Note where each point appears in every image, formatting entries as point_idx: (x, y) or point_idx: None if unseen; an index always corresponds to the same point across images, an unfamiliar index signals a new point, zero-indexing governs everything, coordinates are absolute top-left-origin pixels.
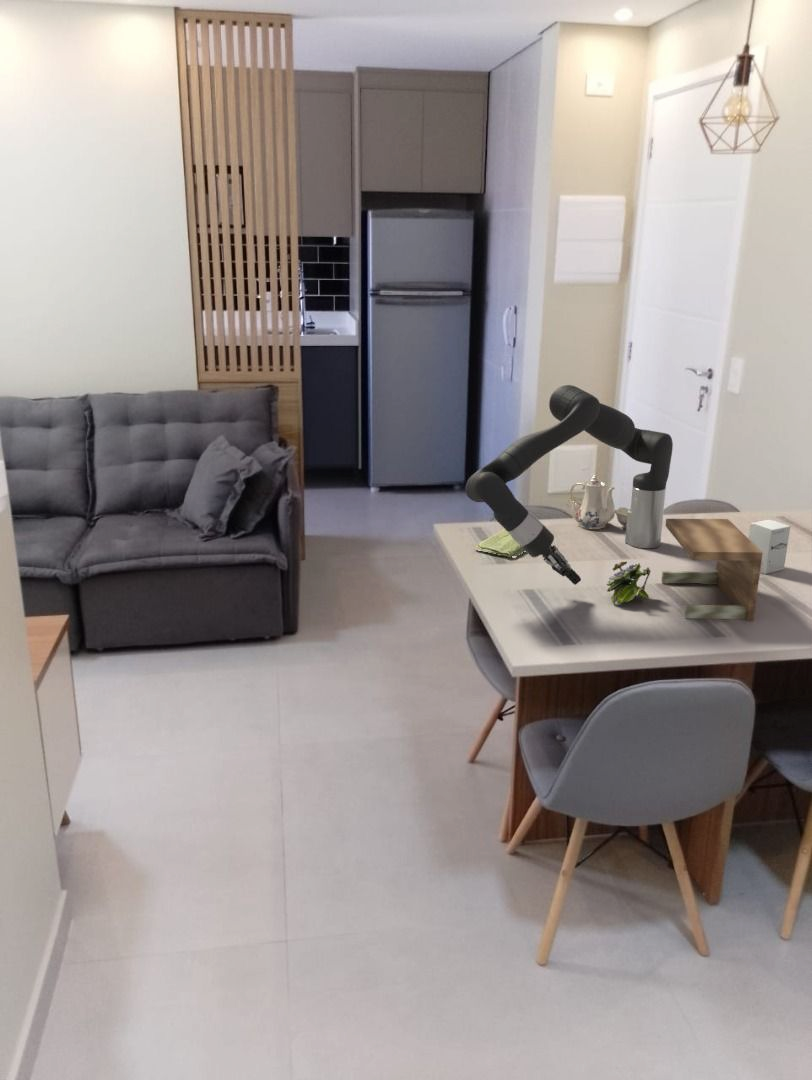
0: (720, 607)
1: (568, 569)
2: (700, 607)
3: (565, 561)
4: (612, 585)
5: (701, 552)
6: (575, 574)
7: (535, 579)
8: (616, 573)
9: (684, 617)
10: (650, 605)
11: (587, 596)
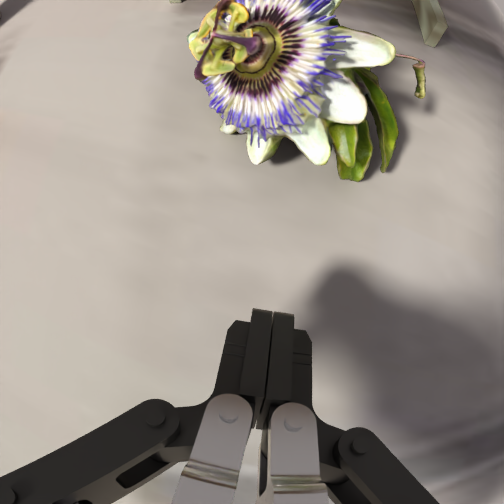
0: None
1: (391, 459)
2: (438, 6)
3: (327, 500)
4: (356, 145)
5: None
6: (290, 359)
7: (39, 412)
8: (305, 80)
9: (431, 46)
10: None
11: (244, 261)
